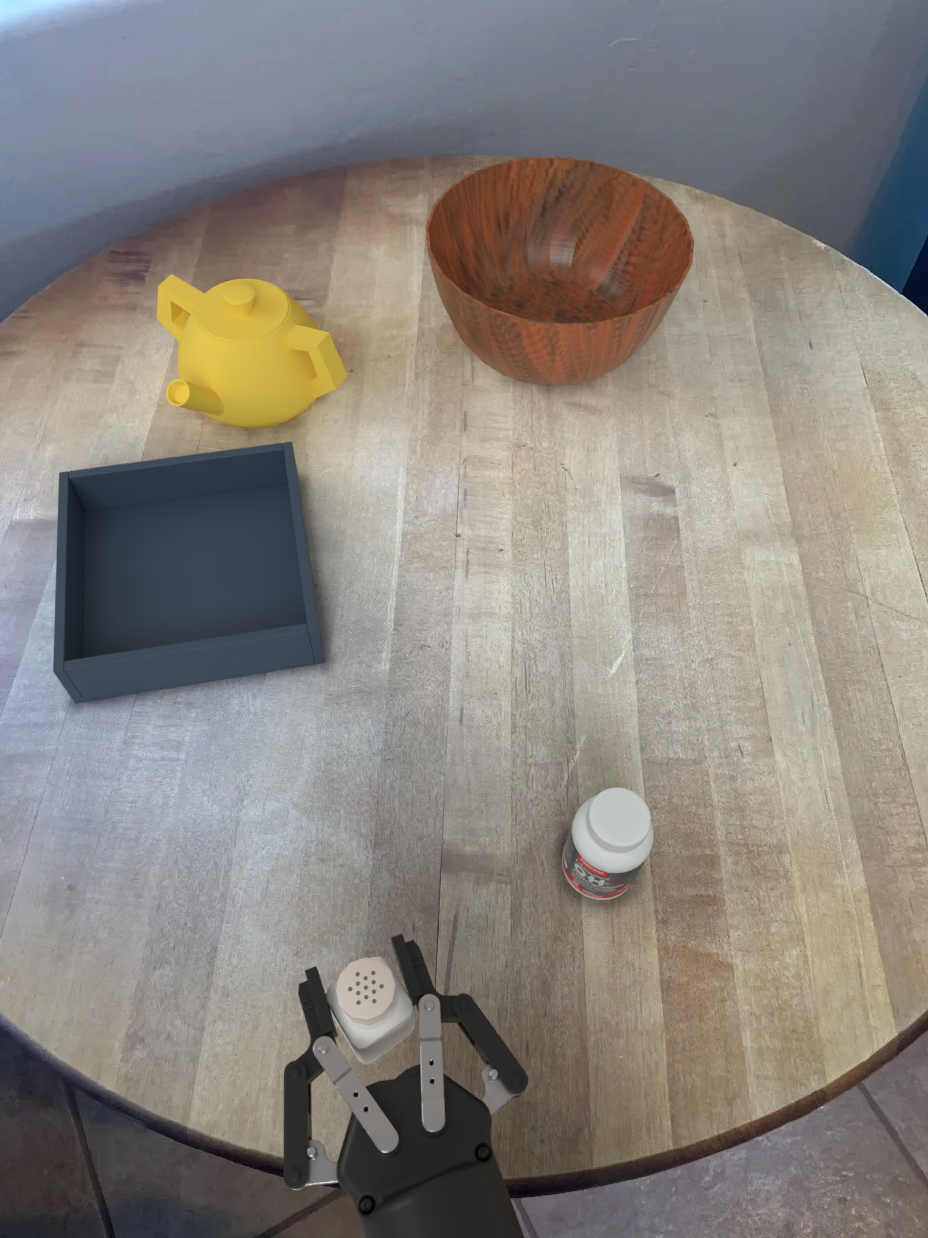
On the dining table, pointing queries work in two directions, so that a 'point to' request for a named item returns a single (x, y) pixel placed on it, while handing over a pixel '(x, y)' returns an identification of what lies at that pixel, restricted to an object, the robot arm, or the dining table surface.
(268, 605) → the tray
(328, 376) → the teapot
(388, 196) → the dining table surface
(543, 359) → the bowl
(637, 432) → the dining table surface
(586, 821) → the pill bottle
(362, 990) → the salt shaker
